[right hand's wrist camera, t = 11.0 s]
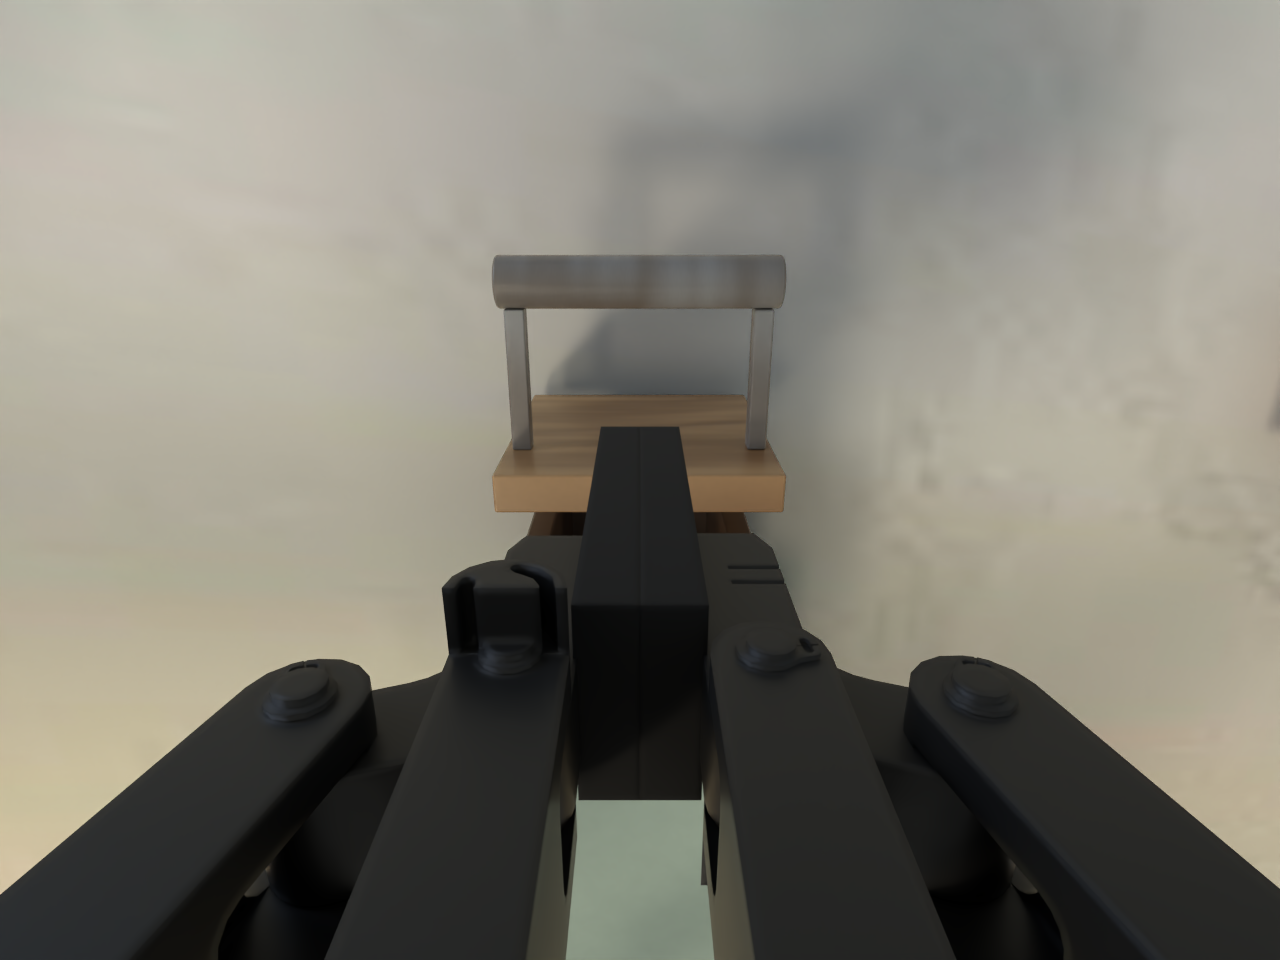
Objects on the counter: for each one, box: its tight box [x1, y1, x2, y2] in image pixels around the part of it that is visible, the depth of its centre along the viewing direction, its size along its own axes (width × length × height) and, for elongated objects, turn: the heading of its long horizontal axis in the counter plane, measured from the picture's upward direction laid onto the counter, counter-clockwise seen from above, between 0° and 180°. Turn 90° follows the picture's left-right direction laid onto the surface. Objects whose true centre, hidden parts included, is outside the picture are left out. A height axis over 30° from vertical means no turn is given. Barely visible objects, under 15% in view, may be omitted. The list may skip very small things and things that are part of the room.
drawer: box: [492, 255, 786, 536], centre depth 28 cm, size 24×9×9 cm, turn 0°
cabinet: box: [566, 784, 714, 960], centre depth 32 cm, size 19×10×11 cm, turn 0°
